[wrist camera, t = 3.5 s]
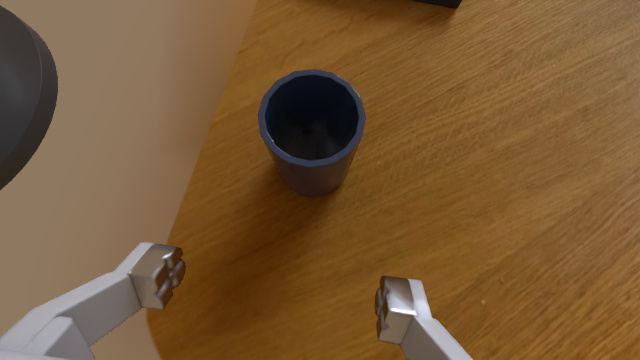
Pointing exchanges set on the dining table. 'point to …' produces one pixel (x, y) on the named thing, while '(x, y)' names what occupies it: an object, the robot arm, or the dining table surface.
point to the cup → (312, 129)
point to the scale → (443, 2)
